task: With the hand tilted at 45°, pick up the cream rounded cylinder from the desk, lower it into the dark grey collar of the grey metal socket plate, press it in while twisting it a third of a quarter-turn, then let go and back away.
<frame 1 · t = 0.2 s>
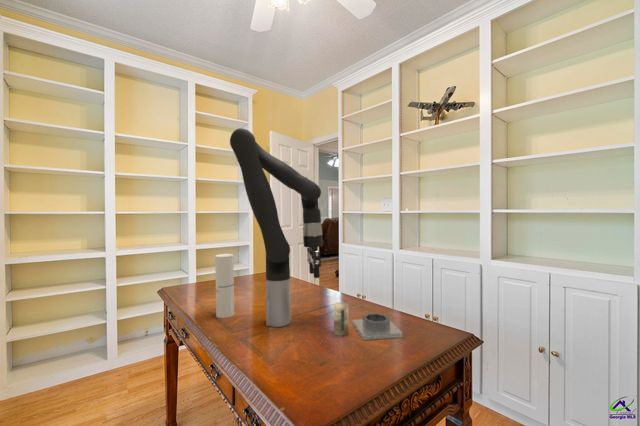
hand: (314, 275, 114), 18 cm above the table, tool pointing down, fingers open, 8 cm apart
socket plate: (376, 330, 106), on the table
cream rounded cylinder: (341, 332, 104), on the table
cylindrical container: (225, 315, 122), on the table
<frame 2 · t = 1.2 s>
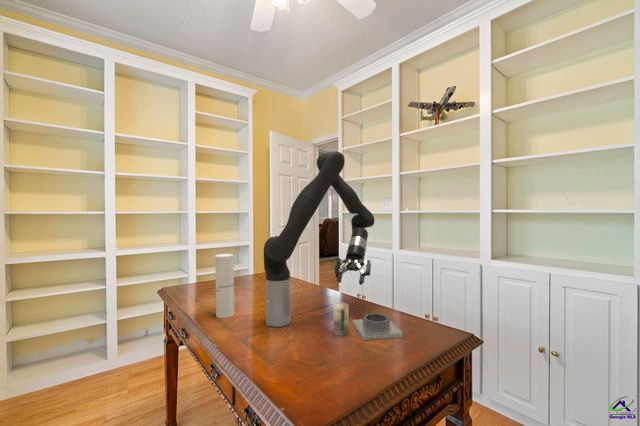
hand: (349, 282, 114), 15 cm above the table, tool tilted 45°, fingers open, 8 cm apart
nothing on the table moved.
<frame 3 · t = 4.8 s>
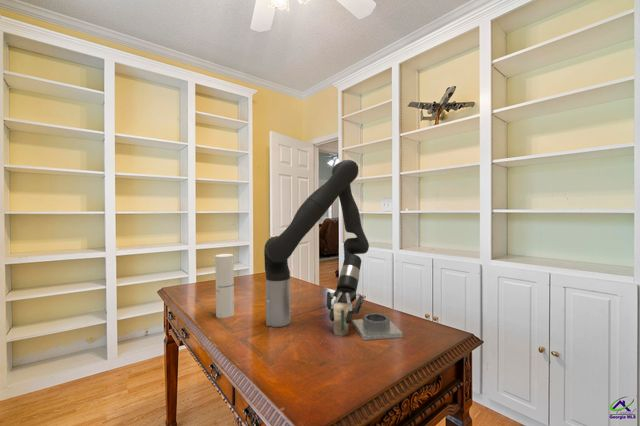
hand: (339, 321, 102), 5 cm above the table, tool tilted 45°, fingers closed on cream rounded cylinder, 5 cm apart
cream rounded cylinder: (341, 332, 104), on the table, touching gripper
everything else where it was.
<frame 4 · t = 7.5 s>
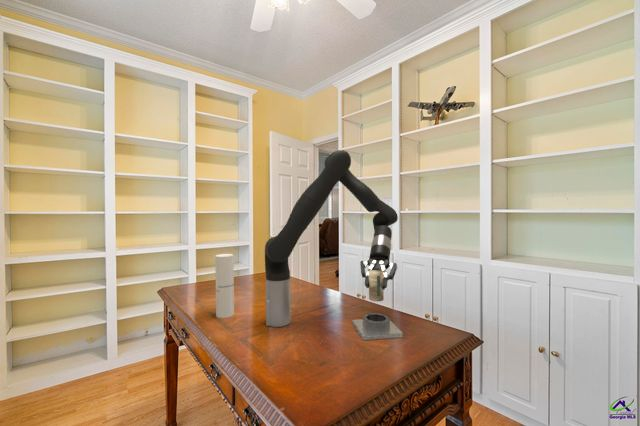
hand: (375, 287, 104), 16 cm above the table, tool tilted 45°, fingers closed on cream rounded cylinder, 5 cm apart
cream rounded cylinder: (376, 299, 105), point 11 cm above the table, touching gripper
everything else where it was.
when the fingers open (7 cm above the table, at t = 10.4 s): cream rounded cylinder stays where it is, resting on socket plate.
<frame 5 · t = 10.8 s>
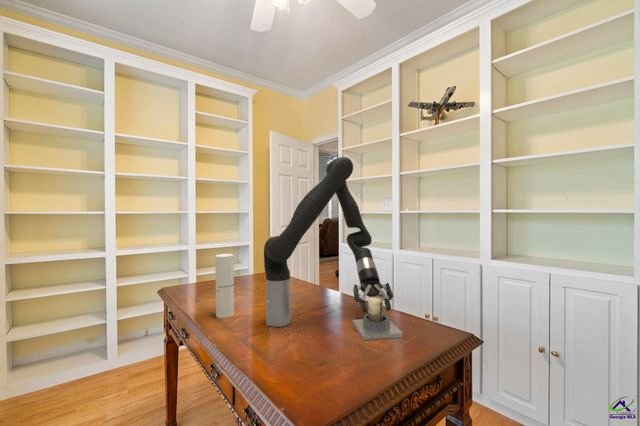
hand: (377, 311, 104), 7 cm above the table, tool tilted 45°, fingers open, 8 cm apart
cream rounded cylinder: (375, 325, 106), point 2 cm above the table, touching socket plate
everything else where it was.
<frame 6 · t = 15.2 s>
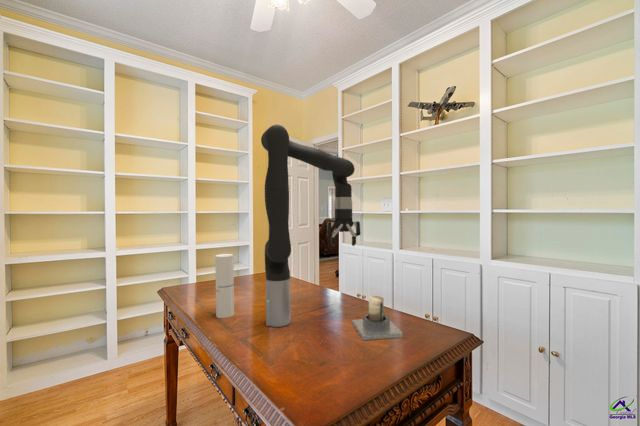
hand: (343, 245, 125), 28 cm above the table, tool pointing down, fingers open, 8 cm apart
nothing on the table moved.
at the end: cream rounded cylinder 0.4 cm off-centre on the socket plate, point 1.6 cm above the socket plate's base; cream rounded cylinder tilted 1°; the gripper is holding nothing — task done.
